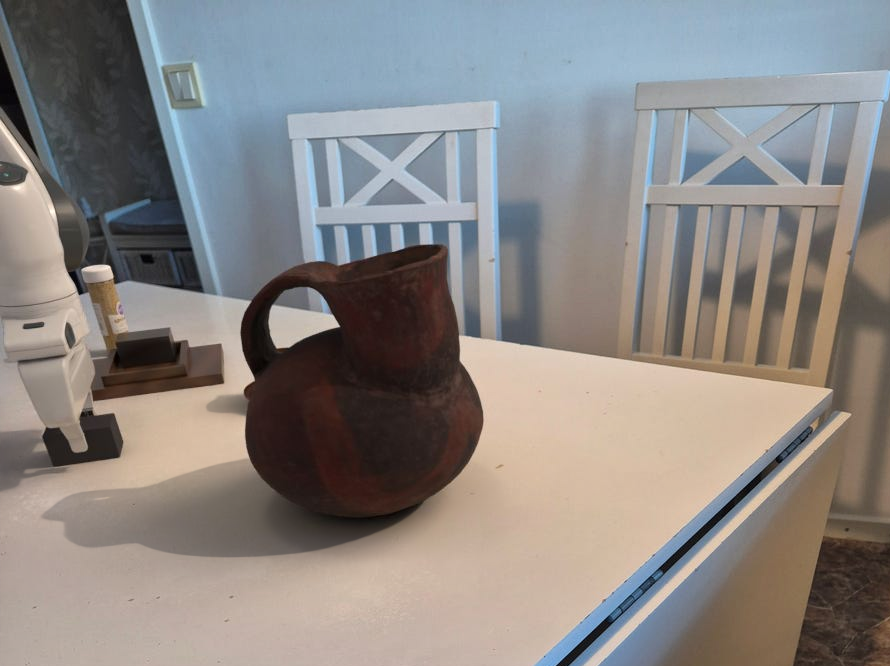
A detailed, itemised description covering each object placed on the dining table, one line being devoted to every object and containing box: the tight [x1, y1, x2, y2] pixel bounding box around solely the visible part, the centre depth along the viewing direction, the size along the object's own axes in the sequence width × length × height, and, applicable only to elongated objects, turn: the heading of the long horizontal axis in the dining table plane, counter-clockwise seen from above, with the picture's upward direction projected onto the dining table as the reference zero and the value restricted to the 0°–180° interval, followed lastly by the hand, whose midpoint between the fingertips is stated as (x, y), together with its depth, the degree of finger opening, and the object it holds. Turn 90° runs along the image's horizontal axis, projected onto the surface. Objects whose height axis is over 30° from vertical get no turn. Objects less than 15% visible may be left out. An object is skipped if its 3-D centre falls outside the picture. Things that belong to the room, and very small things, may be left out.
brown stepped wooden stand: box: [90, 326, 225, 402], centre depth 129 cm, size 22×16×6 cm
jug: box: [239, 243, 485, 518], centre depth 86 cm, size 25×25×25 cm
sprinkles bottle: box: [80, 264, 130, 355], centre depth 138 cm, size 5×5×13 cm
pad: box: [41, 412, 124, 468], centre depth 105 cm, size 8×5×4 cm, turn 104°
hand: (86, 435), depth 105 cm, fingers open, 8 cm apart
